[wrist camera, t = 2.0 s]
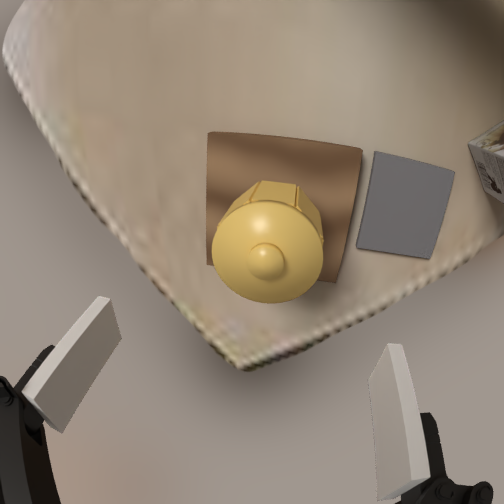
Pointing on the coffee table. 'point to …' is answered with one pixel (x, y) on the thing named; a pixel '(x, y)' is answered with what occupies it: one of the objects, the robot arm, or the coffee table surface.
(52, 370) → the robot arm
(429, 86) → the coffee table surface
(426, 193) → the mat
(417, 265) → the coffee table surface
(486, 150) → the coffee box
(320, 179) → the post base
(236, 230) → the yellow lidded jar
